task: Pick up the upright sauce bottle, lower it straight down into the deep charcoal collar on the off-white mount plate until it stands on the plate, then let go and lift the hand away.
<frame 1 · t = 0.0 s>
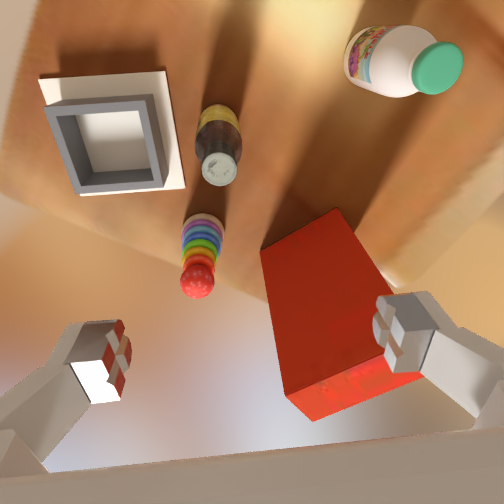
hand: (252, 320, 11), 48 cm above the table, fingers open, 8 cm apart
milk bottle: (367, 57, 49), on the table
mount collar: (119, 138, 53), on the table
sauce bottle: (219, 124, 53), on the table
stacking toy: (203, 229, 63), on the table
tall red box: (305, 243, 67), on the table
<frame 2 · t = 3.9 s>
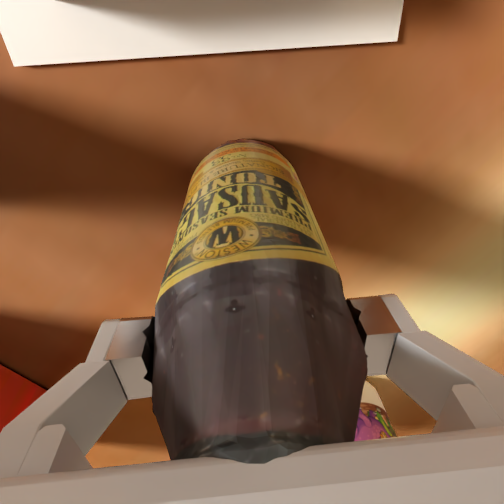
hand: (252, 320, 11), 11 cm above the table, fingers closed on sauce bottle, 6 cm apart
milk bottle: (336, 396, 33), on the table
sauce bottle: (240, 186, 20), on the table, touching gripper
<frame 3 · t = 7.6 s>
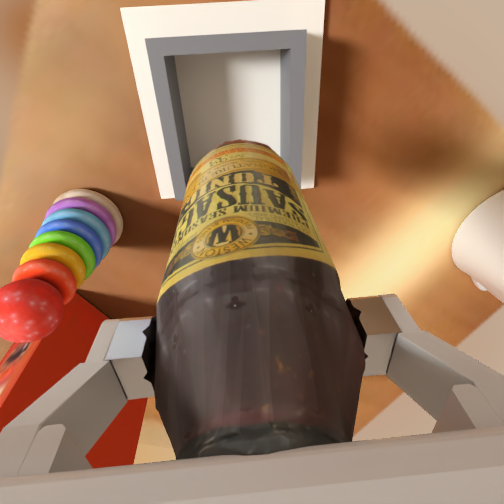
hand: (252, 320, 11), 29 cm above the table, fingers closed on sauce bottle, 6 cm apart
mount collar: (231, 110, 34), on the table
sauce bottle: (237, 186, 20), point 18 cm above the table, touching gripper
stacking toy: (91, 216, 40), on the table
tall red box: (99, 334, 51), on the table
when the fingers open (12 cm above the table, at t = 11.6 s): sauce bottle stays where it is, resting on mount collar.
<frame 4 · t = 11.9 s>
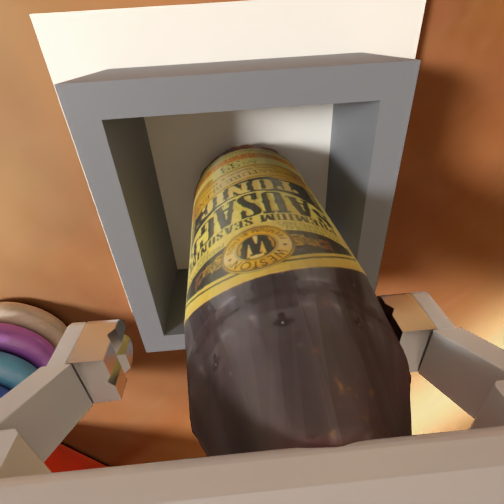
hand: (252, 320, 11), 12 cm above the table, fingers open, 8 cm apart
mount collar: (244, 185, 20), on the table
sauce bottle: (243, 191, 20), point 1 cm above the table, touching gripper, mount collar
stacking toy: (26, 332, 26), on the table
tall red box: (57, 461, 37), on the table
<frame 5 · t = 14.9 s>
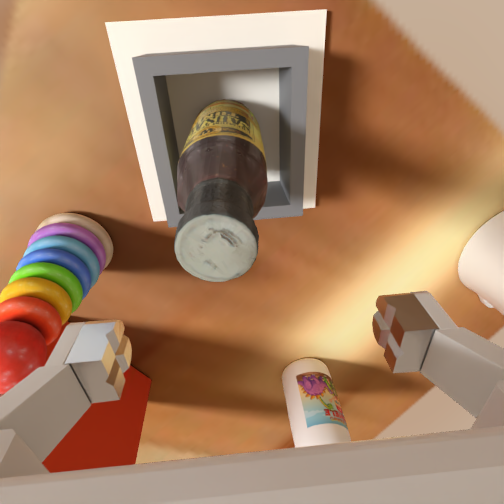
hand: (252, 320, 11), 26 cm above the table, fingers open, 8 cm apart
milk bottle: (304, 370, 54), on the table
mount collar: (227, 129, 32), on the table
sauce bottle: (224, 131, 32), point 1 cm above the table, touching mount collar
stacking toy: (78, 240, 38), on the table
tall red box: (90, 359, 48), on the table
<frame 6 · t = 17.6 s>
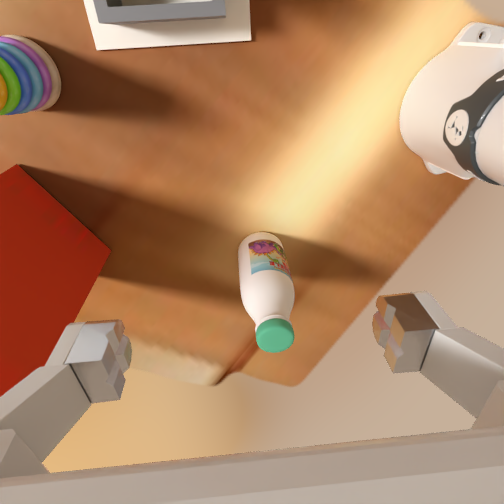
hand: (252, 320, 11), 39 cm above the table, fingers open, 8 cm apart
milk bottle: (260, 249, 56), on the table
stacking toy: (28, 74, 40), on the table
tall red box: (51, 223, 51), on the table
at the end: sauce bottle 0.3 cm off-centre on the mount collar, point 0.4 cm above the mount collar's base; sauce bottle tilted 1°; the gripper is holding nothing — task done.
